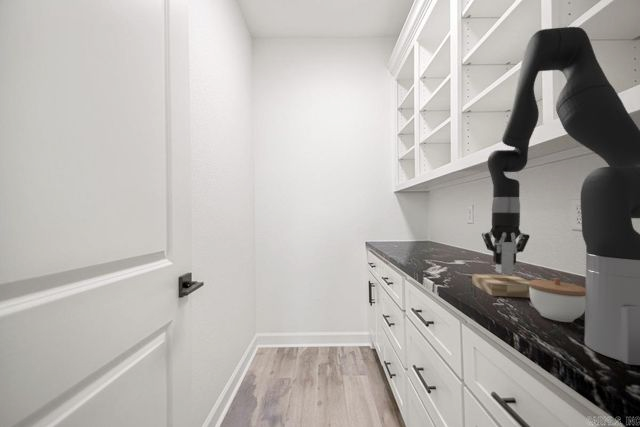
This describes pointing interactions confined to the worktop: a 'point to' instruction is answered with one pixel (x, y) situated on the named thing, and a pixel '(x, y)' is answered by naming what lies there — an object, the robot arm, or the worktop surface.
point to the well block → (502, 285)
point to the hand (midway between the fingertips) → (504, 264)
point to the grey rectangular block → (506, 258)
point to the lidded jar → (557, 299)
